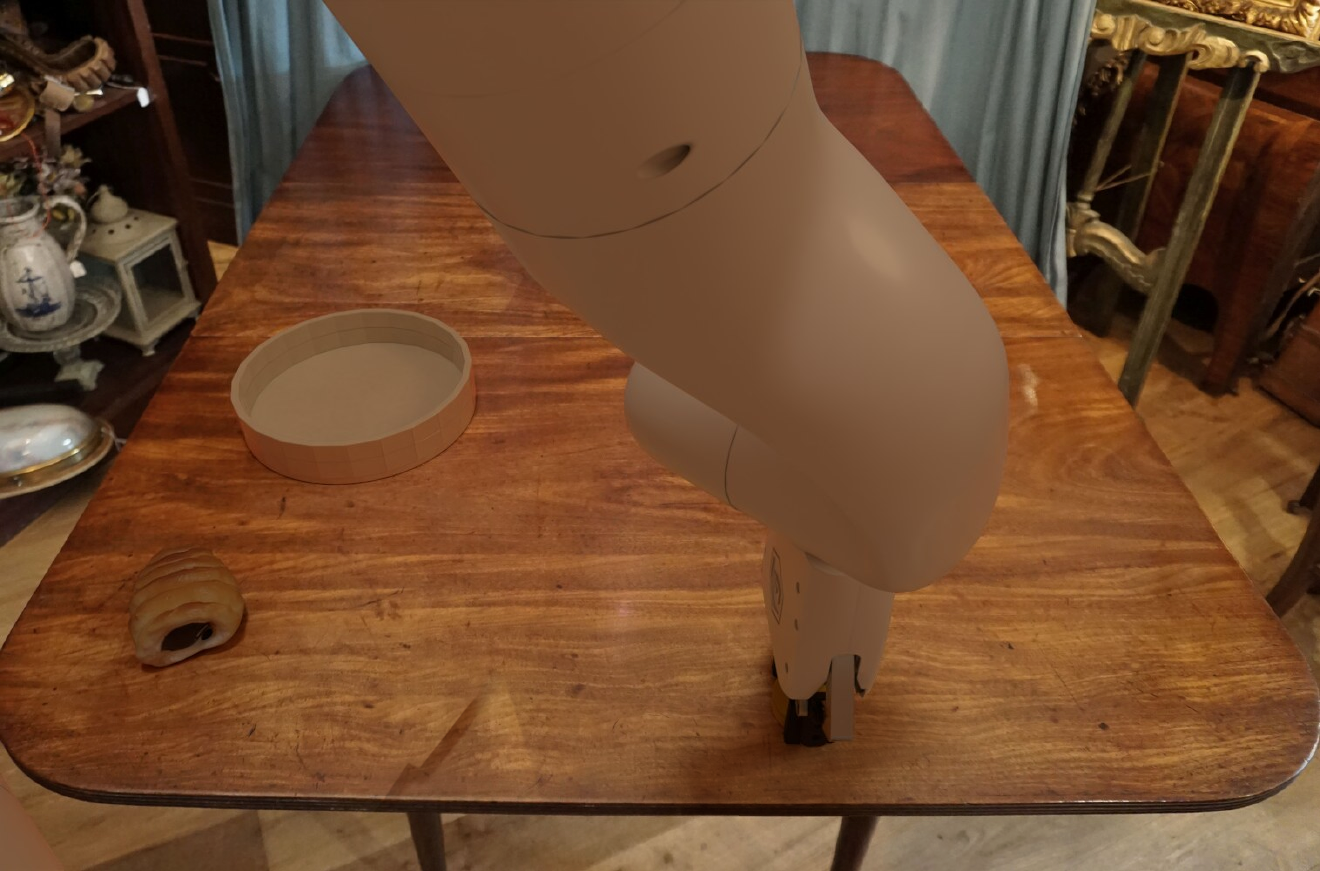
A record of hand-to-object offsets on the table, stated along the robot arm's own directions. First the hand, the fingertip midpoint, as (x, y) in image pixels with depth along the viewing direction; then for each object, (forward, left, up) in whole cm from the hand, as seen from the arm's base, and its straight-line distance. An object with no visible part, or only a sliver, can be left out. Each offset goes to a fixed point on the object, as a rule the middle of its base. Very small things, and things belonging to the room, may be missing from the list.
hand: (802, 704), depth 58 cm
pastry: (-13, +39, -1) cm, 41 cm away
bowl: (+10, +44, 0) cm, 45 cm away
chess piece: (0, 0, 0) cm, 0 cm away
